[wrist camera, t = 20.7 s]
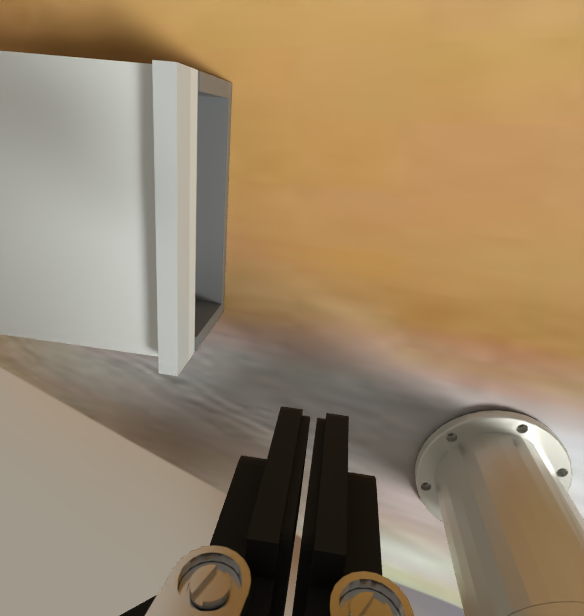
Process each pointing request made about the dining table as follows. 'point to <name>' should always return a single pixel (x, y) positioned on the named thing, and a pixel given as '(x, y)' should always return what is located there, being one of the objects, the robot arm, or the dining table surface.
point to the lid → (99, 204)
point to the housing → (211, 200)
